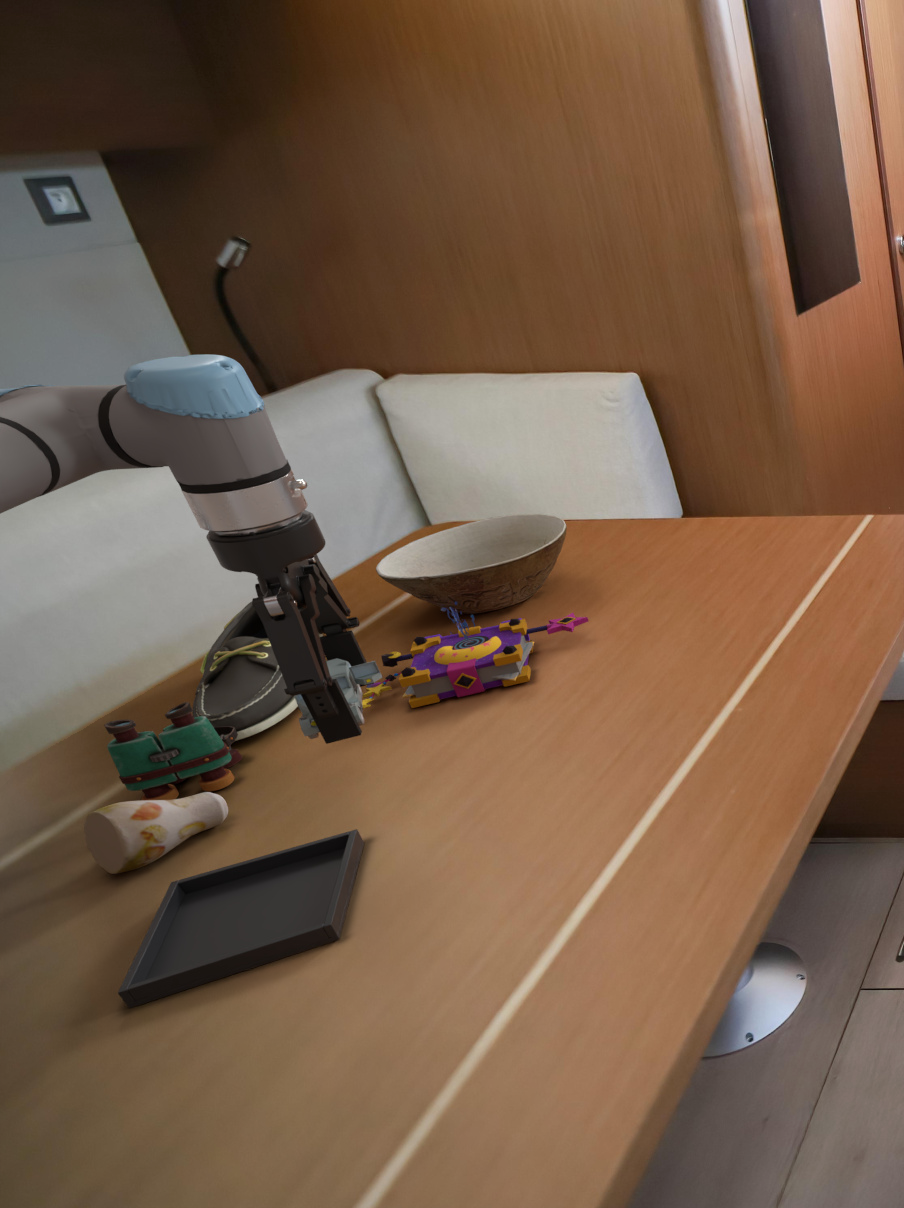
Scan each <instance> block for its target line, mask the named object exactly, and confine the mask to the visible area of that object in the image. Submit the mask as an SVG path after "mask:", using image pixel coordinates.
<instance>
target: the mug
mask: <svg viewBox="0 0 904 1208" xmlns="http://www.w3.org/2000/svg"><path fill="white" fill-rule="evenodd" d="M228 815H229V807H228V804H227V802H226V799H224V797H222V795H220V794H218V793H213V792H211V791H203V792H200V793H197V794H193V795H189V796H185V797H181V798H176V799H174V800H143V801H142V800H127V801H121V802H119V801H118V802H115V803H112V804H108V805H105V806H102V807H100V808H98V809H96V810H94V811H92V812H90V813H89V814H88V815H87V816H86V818H85V820H84V824H83V832H84V839H85V842H86V846H87V848H88V851H89V852H90V854H91V856H92V857H93V859H94V861H95V862H96V863H97V864H98V865H99V867H101V868H102V869H103V870H105V872H107V873H108V874H111V875H112V874H120V873H125V872H129V871H134V870H137V869H139V868H143V867H145V866H147V865H150V864H151V863H153V862H155V861H156V860H158V859H160V858H161V857H163V856H165V855H166V854H167V853H169V852H170V851H171V850H173V849H174V848H176V847H177V846H179V845H181V843H184V842H185V841H186V840H188V839H189V838H191V837H193V836H195V835H197V834H199V833H202V832H204V831H206V830H210V829H212V828H215V827H218V826H220V825H222V823H224V821H225V820H226V819H227V817H228Z"/></svg>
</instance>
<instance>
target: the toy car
mask: <svg viewBox="0 0 904 1208" xmlns="http://www.w3.org/2000/svg"><path fill="white" fill-rule="evenodd" d="M326 662H327V666H328V669H329V673H330V676H331V678H332V679H337V681H338V683H339V685H340V687H341V690H342V692H343V694H344V696H345V698H346V700H347V702H348V704H349V706H350V708H351V710H352V712H353V714H354V716H355V718H356V720H357V722H358V724H359V726H360V727H361V726H362V725H363V726H364V725H365V718H364V715H363V714H364V708H363V706H362V701H363V694H364V693H363V690H362V687H360V685H359V684H361V685H366V686H367V684H370V683H374V682H375V683H377V681H379V680H381V679H382V678H383V675H382V673H381V671H380V669H379V666H378V664H377V662H376V660H372V661H368V662H367V663H364V664H360V665H356V666H352V667H351V665H350V663H349V662H348V661H344V660H341V659H338V658H336V659H332V660H326ZM294 697H295V700H296V702H297V705H298V707H297V708H298V709H299V710H300V712H301V714H302V715H301V716H300V717H298V723H299V726H300V729H301V732H302V735H304V737H308V739H310V740H314V739H317V738H319V736H320V735H319V733H320V731H319V729H318V727H317V725H316V723H315V721H314V719H313V717H312V715H311V713H310V712H309V710H308V708H307V706H306V704H305V702H304V700H303V698H302V696H301V694H300V695H295V696H294Z"/></svg>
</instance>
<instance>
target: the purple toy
mask: <svg viewBox="0 0 904 1208" xmlns="http://www.w3.org/2000/svg"><path fill="white" fill-rule="evenodd" d="M451 596H452V595H451ZM453 599H454V598H453ZM445 600H446V599H445ZM454 603H455V605H457V604H458V603H457V602H454ZM442 605H443V604H442ZM453 606H454V605H453ZM450 608H451V607H450ZM455 610H456V609H455ZM440 611H442V612H446V615H447V618H449V620H451V622H452V623H453V624H456V625H455V626H456V627H457V629H458V630H457V633H455V634H454V633H452V632H451V631H449V632H450V635H445V636H442V634H440V633H438V634H435V635H434V634H433V635H428V636H416V637H415V638H414V639H413V642H412V645H411V647H410V651H409V652H410V653H407V654H402V653H401V652H400V651H391V652H389V653H385V654H382V655H380V656H381V657H380V658H381V661H382V666H383V667H388V668H394V667H396V666H398V662H403V661H408V660H411V659H412V662H411V665H410V667H405V668H403V669H402V668H401V669H402V670H401V671H400V672H398V673H397V672H395V673H393V674H388V675H387V676H386V677H384V679H385V680H383V681H381V682H375V683H374V684H371V685H366V686H365V691H366V692H365V693H362V694H363V696H362V706H363V709H368V708H370V707H371V706H372V704H369V703H371V702H373V701H375V698H373V697H374V696H376V697H380V696H381V694H382V693H383V692H387V691H390V690H393V688H392V686H391V685H388V686H387V683H389V682H390V683H391V682H393V681H395V680H396V679H397V677H398V676H399V677H398V682H399V684H400V686H401V688H406V687H407V689H406V690H405V692H404V693H403V695H402V696H401V697H402V699H405V698H409V697H410V698H409V701H408V703H409V705H410V707H411V709H414V708H418V707H423V706H426V705H431V704H436V703H440V702H441V700H444V699H448V698H453V697H457V698H463V697H467V696H470V695H475V694H481V693H483V692H486V690H488V689H492V688H497V687H500V686H501V687H502V686H503V687H504V688H505V687H509V686H514V685H518V684H523V683H526V682H530V679H531V673H532V670H531V667H530V664H529V658H530V654H534V646H535V645H534V644H535V641H533V640H531V638H530V635H531V634H535V633H540V632H545V631H546V632H547V635H551V634H554V633H558V632H559V633H560V632H564V631H565V632H569V633H574V631H575V627H578V626H581V625H583V624H586V623H588V622H590V620H589V617H588V616H576V615H575V613H574V612H571V613H570V614H568V615H566V616H564V617H562V618H554V619H549V620H548V623H547V624H546V625H541V626H535V627H530V628H528V624H527V621H526V618H522V617H519V618H510V620H509V619H508V620H505V621H500V623H499V624H498V625H497V624H496V625H493V626H488V627H484V628H483V627H482V626H480V625H477V626H476V624H475V615H474V614H470V618H471V619H470V621H471V622H472V624H473V626H471V627H469V624H468V622H467V621H466V619H463V618H462V619H461V621H460V617H459V612H458V611H457V612H456V611H454V608H453V609H452V608H451V610H448V609H447V608H442V607H440ZM450 611H451V612H450ZM460 612H461V611H460ZM450 615H451V616H452V617H453V618H451V617H450ZM460 615H463V613H462V612H461V613H460ZM367 697H368V698H367Z"/></svg>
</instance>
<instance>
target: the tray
mask: <svg viewBox="0 0 904 1208" xmlns="http://www.w3.org/2000/svg"><path fill="white" fill-rule="evenodd" d="M362 837H363V836H362V835H361V833H360V832H359V830H358V829H357V828H355V829H352V830H350V831H345V832H341V833H338V834H334V835H330V836H327V837H323V838H321V839H316V840H313V841H310V842H307V843H303V844H300V845H296V846H293V847H289V848H286V849H282V850H278V851H274V852H272V853H269V854H265V855H262V856H261V855H260V856H258V857H257V856H256V857H254V858H251V859H248V860H244V861H239V862H237V863H233V864H230V865H229V864H228V865H226V866H222V867H219V868H216V869H212V870H209V871H205V872H202V873H199V874H198V873H197V874H195V875H192V876H191V875H190V876H188V877H185V878H181V879H177V880H174V881H171V882H170V884H169V886H168V888H167V889H166V892H165V894H164V896H163V898H162V901H161V903H160V905H159V907H158V909H157V911H156V913H155V915H154V917H153V919H152V921H151V923H150V925H149V927H148V930H147V931H146V934H145V936H144V938H143V940H142V941H141V944H140V946H139V948H138V949H137V952H136V954H135V956H134V958H133V960H132V963H131V964H130V966H129V969H128V971H127V973H126V975H125V977H124V979H123V980H122V983H121V985H120V987H119V988H118V989H119V990H118V991H117V995H118V996H119V997H120V998H121V999H122V1001H123V1002H124V1003H125V1005H126V1006H127V1007H128V1009H131V1008H135V1007H139V1006H141V1005H144V1004H146V1003H150V1002H153V1001H156V1000H158V999H159V1000H160V999H162V998H165V997H168V996H171V995H174V994H177V993H180V992H183V991H184V992H185V991H187V990H189V989H193V988H196V987H199V986H202V985H205V984H208V983H211V982H215V981H218V980H220V979H223V978H227V977H229V976H232V975H235V974H238V973H241V972H244V971H249V970H250V969H254V968H257V967H260V966H263V965H266V964H270V963H272V962H276V961H278V960H281V959H284V958H287V957H291V956H294V955H296V954H299V953H302V952H305V951H309V950H312V949H315V948H318V947H320V946H321V947H322V946H324V945H327V944H330V943H334V942H335V941H339V940H340V939H341V936H342V932H343V928H344V925H345V919H346V917H347V913H348V908H349V905H350V900H351V897H352V894H353V889H354V885H355V882H356V877H357V874H358V869H359V866H360V863H361V858H362V854H363V851H364V847H365V841H364V839H363V838H362Z"/></svg>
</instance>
